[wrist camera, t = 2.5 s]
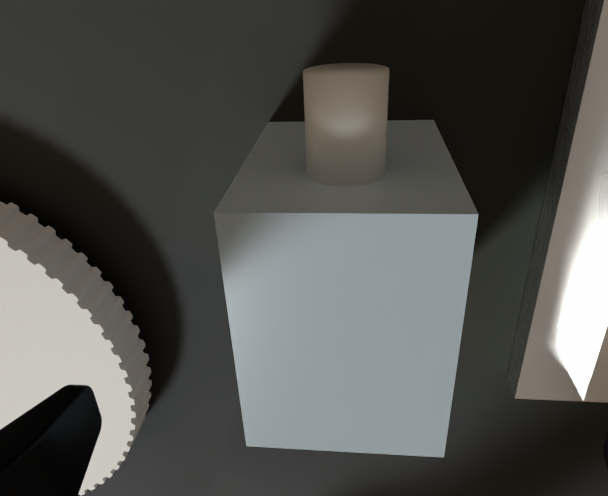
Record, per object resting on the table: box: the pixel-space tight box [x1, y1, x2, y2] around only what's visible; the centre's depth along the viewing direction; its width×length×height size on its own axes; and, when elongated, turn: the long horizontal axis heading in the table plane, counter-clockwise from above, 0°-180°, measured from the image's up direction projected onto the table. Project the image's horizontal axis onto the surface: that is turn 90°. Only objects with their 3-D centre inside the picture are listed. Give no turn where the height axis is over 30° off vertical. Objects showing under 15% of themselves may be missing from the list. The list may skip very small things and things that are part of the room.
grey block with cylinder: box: [214, 63, 479, 457], centre depth 12 cm, size 4×8×6 cm, turn 2°
